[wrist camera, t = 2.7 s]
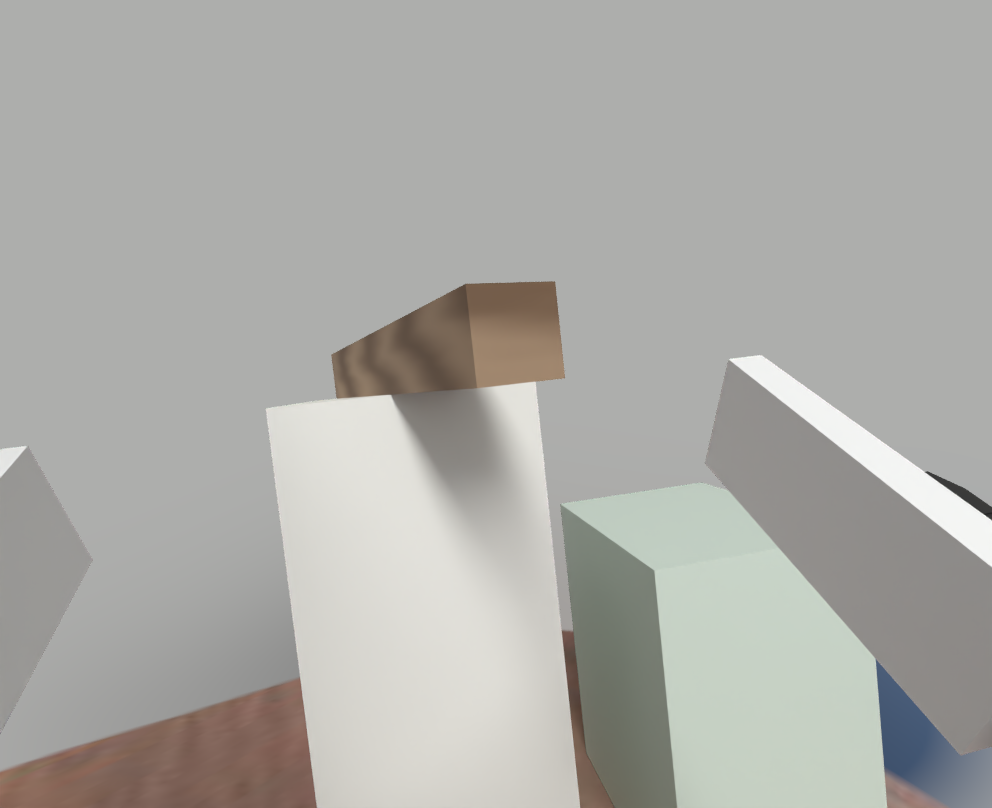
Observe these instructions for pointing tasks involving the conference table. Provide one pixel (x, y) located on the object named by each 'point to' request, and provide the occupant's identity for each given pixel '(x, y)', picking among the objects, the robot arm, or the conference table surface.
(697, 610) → the low stand
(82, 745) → the conference table surface
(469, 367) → the walnut bar
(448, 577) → the off-white rectangular block
